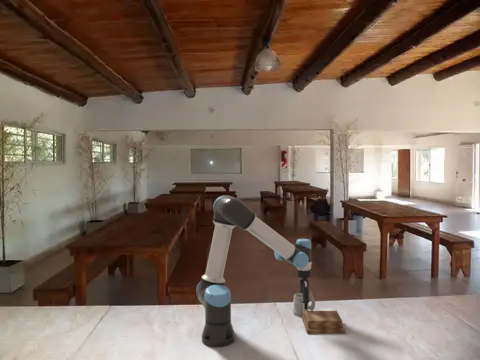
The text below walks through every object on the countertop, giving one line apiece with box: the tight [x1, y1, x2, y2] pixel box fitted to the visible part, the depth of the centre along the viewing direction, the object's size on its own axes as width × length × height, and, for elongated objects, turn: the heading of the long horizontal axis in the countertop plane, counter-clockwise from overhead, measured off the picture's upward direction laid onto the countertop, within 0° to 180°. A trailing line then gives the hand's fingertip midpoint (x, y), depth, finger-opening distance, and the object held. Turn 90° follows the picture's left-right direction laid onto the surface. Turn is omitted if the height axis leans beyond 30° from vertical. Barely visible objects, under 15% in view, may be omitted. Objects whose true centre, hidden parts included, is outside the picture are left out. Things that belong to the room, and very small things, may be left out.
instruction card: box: [318, 307, 336, 311], centre depth 219 cm, size 8×11×1 cm
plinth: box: [301, 310, 347, 335], centre depth 202 cm, size 18×18×5 cm
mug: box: [292, 290, 316, 317], centre depth 217 cm, size 8×12×12 cm, turn 93°
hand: (304, 310), depth 217 cm, fingers open, 10 cm apart
